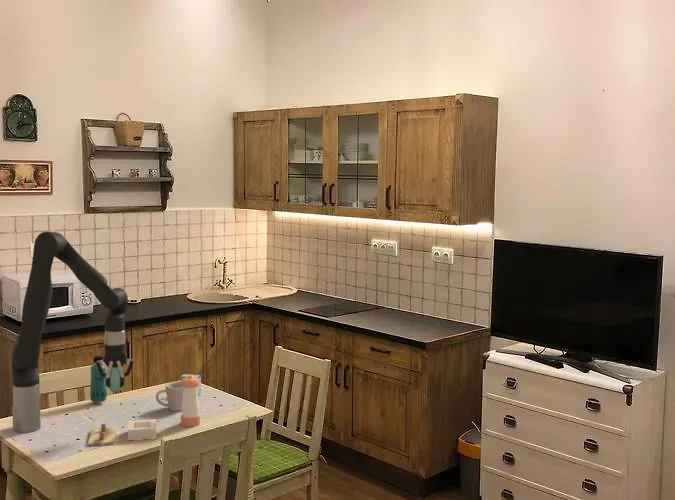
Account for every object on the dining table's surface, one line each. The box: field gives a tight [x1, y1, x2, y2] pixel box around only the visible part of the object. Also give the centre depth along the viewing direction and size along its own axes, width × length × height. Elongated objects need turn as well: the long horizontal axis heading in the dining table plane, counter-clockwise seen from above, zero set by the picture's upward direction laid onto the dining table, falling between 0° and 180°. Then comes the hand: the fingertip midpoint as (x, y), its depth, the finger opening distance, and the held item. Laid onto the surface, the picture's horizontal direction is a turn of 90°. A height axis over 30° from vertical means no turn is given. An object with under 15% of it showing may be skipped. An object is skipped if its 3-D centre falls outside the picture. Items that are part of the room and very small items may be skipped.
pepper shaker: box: [180, 374, 201, 428], centre depth 288 cm, size 7×7×19 cm
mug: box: [155, 380, 183, 412], centre depth 305 cm, size 10×15×10 cm
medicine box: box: [180, 373, 202, 397], centre depth 325 cm, size 8×4×9 cm, turn 81°
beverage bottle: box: [89, 355, 108, 403], centre depth 310 cm, size 6×7×20 cm
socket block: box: [127, 418, 157, 441], centre depth 276 cm, size 10×10×4 cm
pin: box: [109, 367, 122, 393], centre depth 278 cm, size 4×4×9 cm
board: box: [87, 423, 117, 447], centre depth 272 cm, size 9×15×4 cm, turn 14°
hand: (115, 386), depth 278 cm, fingers closed on pin, 4 cm apart
